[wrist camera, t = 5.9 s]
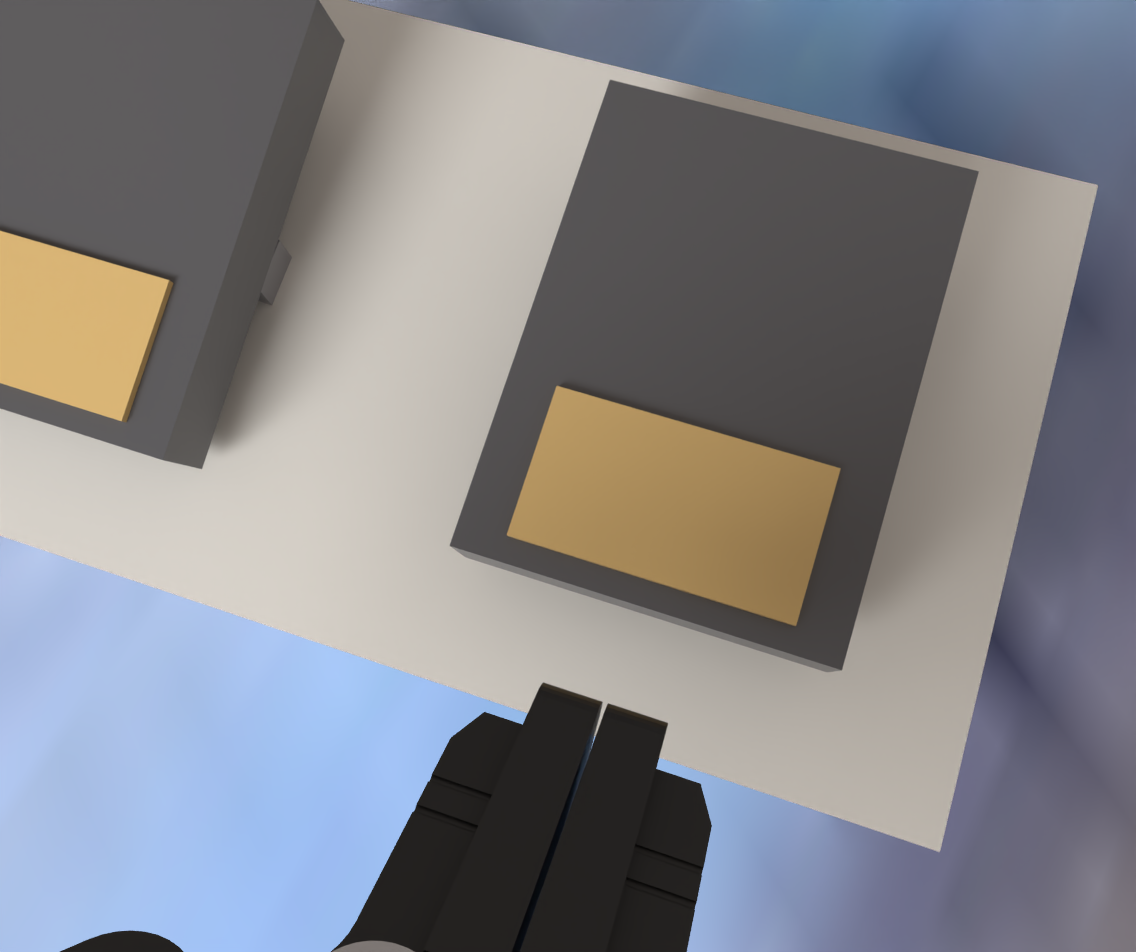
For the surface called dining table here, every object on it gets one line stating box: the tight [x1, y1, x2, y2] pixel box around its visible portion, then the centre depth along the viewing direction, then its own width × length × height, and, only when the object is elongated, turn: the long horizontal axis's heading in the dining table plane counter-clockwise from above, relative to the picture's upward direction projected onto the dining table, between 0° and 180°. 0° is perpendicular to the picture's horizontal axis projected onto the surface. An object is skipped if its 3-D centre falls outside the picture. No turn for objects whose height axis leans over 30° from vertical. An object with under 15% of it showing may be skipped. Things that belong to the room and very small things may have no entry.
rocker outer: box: [450, 80, 979, 672], centre depth 17 cm, size 6×8×2 cm
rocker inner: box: [0, 0, 345, 469], centre depth 18 cm, size 6×8×2 cm
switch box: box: [0, 0, 1098, 852], centre depth 24 cm, size 22×12×11 cm, turn 72°
